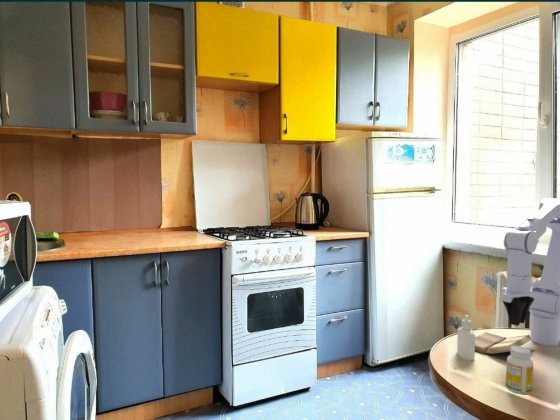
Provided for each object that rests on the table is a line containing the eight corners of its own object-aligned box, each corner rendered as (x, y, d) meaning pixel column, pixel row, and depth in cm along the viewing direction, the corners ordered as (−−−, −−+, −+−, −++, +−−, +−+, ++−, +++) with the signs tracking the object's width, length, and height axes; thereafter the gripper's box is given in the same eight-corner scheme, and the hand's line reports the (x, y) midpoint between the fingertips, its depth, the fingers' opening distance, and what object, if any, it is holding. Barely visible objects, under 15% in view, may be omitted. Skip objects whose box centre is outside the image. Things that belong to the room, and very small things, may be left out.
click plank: (508, 343, 123) (506, 338, 124) (531, 339, 118) (529, 334, 119) (487, 354, 115) (485, 348, 116) (511, 351, 110) (508, 345, 111)
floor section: (484, 338, 129) (484, 331, 129) (535, 353, 118) (536, 345, 118) (461, 349, 121) (461, 341, 121) (513, 366, 110) (514, 357, 109)
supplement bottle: (510, 394, 95) (511, 352, 95) (502, 383, 100) (503, 344, 100) (536, 396, 94) (537, 354, 94) (526, 385, 99) (528, 345, 99)
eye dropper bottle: (474, 356, 116) (475, 313, 115) (474, 364, 111) (475, 319, 110) (457, 353, 118) (458, 311, 117) (456, 361, 113) (457, 317, 112)
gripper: (515, 268, 122) (513, 314, 123) (491, 275, 113) (489, 325, 114) (542, 272, 116) (540, 321, 117) (519, 280, 107) (517, 332, 108)
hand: (517, 323), depth 115 cm, fingers open, 3 cm apart
